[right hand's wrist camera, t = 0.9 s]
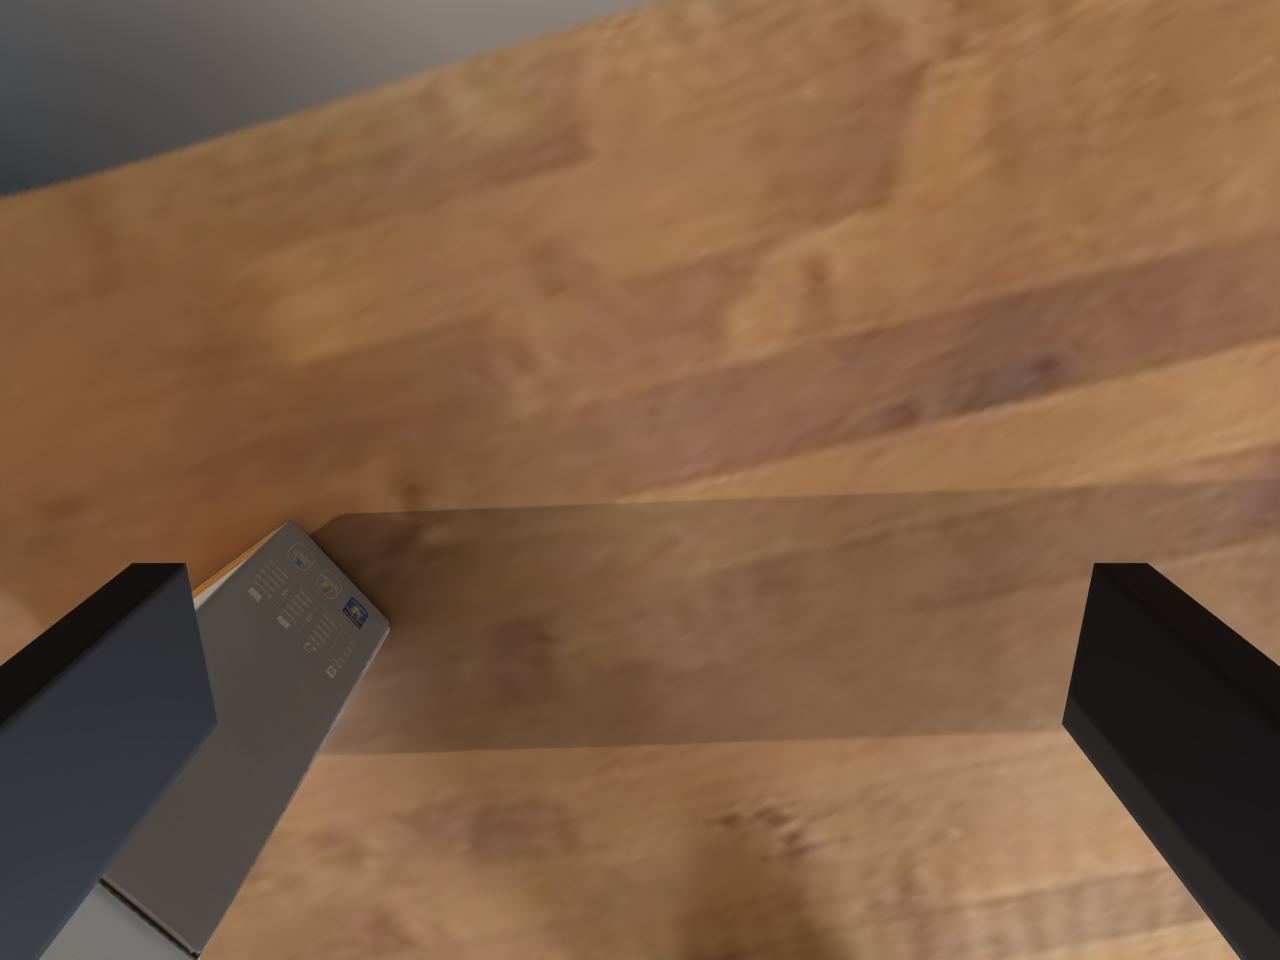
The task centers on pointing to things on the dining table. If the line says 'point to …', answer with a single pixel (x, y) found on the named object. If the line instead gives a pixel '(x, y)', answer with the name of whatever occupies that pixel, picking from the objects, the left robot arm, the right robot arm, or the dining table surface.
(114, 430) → the dining table surface
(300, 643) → the hard drive box
